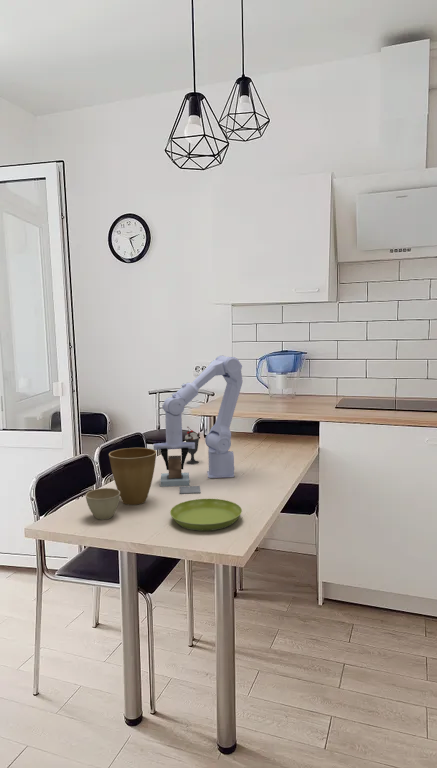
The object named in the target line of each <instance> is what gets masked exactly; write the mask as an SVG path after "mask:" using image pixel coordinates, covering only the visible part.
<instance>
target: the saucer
mask: <svg viewBox="0 0 437 768" xmlns="http://www.w3.org/2000/svg"><path fill="white" fill-rule="evenodd" d="M169 511H170V512H169V513H170V516H171V518H172V520H173V521H174V522H176V523H177V524H178V525H179V526H181V527H182V528H185V529H188V530H190V531H191V530H192V531H197V532H198V531H199V532H209V531H217V530H218V531H219V530H222V529H225V528H228V527H229V526H231V525H233V524H234V523H235V522H237V521H238V519H239V518H240V516H241V515H242V512H243V510H242V507H241V506H240V505H239V504H238V503H235V502H233V501H230V500H225V499H219V498H197V499H190V500H186V501H183V502H180V503H178V504H176V505H174V506H173V507H172V508H171V509H170V510H169Z"/></svg>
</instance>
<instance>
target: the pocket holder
mask: <svg viewBox="0 0 437 768" xmlns="http://www.w3.org/2000/svg"><path fill="white" fill-rule="evenodd" d="M189 473H190V472H181V474H182V478H170V479H169V472H166V473H165V472H164V473H160V487H181V486H190V474H189Z"/></svg>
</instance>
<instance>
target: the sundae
mask: <svg viewBox="0 0 437 768" xmlns="http://www.w3.org/2000/svg"><path fill="white" fill-rule="evenodd" d="M186 428H187V430H188V431H187V432H186V434H185V437H183V440H184V441H185V442H195V449H192V448H191V449H188V454H189V455H190V459H189V460H188V461H186V465H187V464H188V465H196V464H199V462H200V461H198V460H196V459H195V454H196V453H197V452H198V450H199V442H200V440H201V437H200V432H198V433H197V432H196V431H194V429H193V430H192V429H190V427H189V426H186Z"/></svg>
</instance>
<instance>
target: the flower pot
mask: <svg viewBox="0 0 437 768" xmlns="http://www.w3.org/2000/svg"><path fill="white" fill-rule="evenodd" d="M85 499H86V503H87V506H88V508H89V510H90V512H91V514H92V516H93V517H94V518H95V519H96V520H102V521H103V520H109V519H110V518H112V517H113V516H114V515H115V512H116V510H117V508H118V505H119V501H120V499H121V497H120V491H119V490H118V489H117V488H111V487H109V488H108V487H104V488H103V487H102V488H96V489H92V490H89V491H87V492H86V493H85Z"/></svg>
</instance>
